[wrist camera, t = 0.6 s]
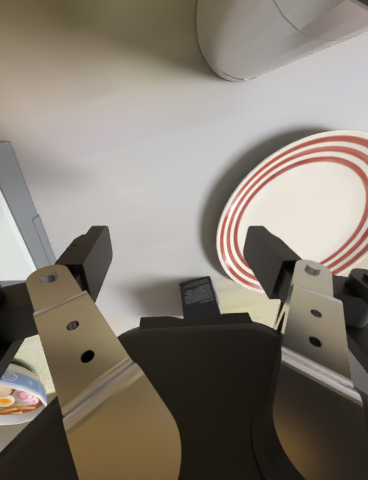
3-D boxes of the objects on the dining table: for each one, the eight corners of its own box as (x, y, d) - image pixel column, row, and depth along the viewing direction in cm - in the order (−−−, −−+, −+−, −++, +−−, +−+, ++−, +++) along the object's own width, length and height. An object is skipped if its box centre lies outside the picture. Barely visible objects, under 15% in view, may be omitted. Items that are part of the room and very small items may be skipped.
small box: (220, 308, 42) (235, 359, 34) (191, 316, 43) (199, 368, 34) (211, 274, 37) (226, 325, 28) (178, 283, 37) (182, 335, 28)
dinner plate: (218, 293, 40) (222, 307, 37) (204, 150, 25) (209, 155, 22) (351, 269, 40) (365, 281, 37) (417, 108, 25) (450, 108, 22)
